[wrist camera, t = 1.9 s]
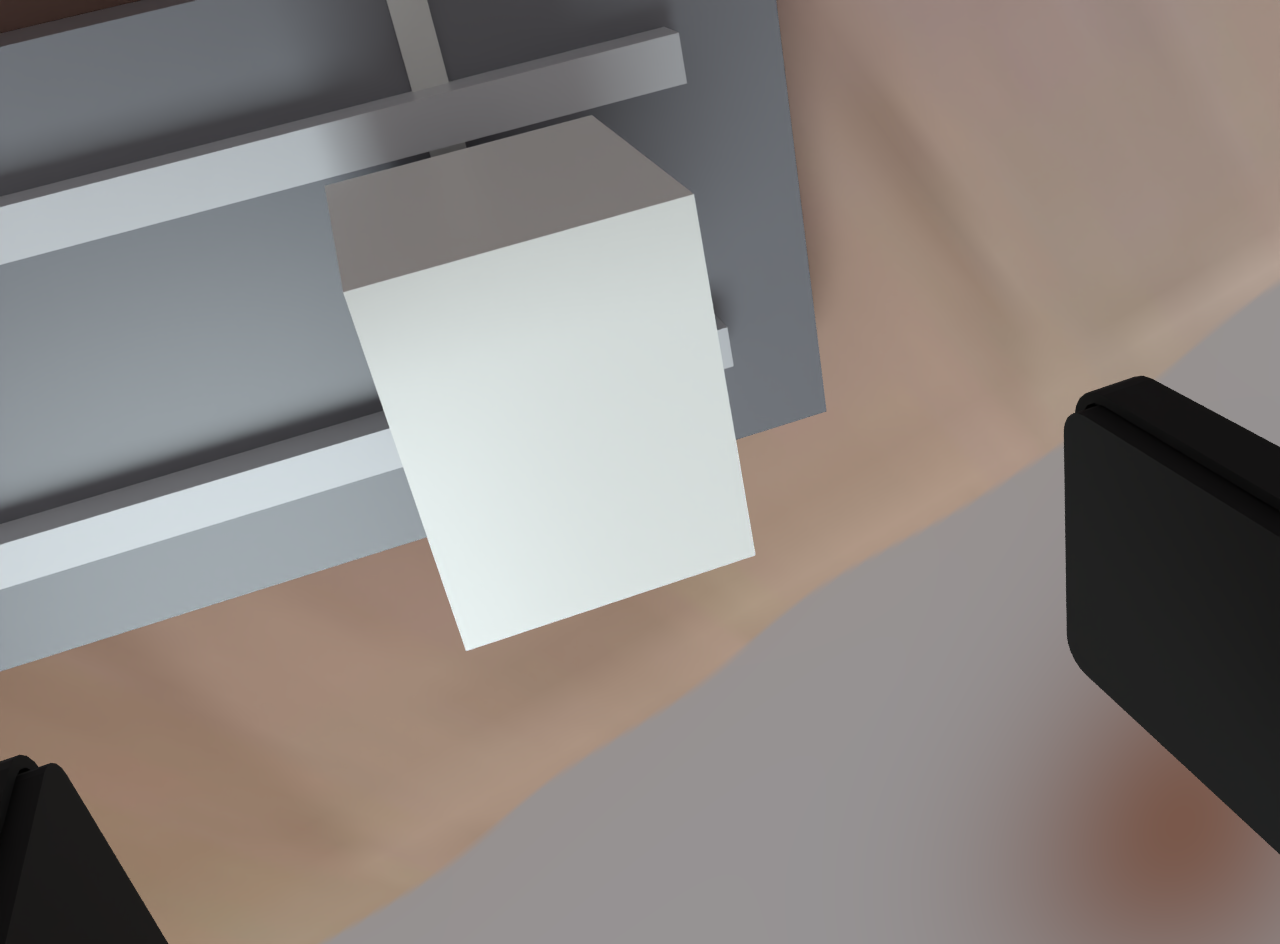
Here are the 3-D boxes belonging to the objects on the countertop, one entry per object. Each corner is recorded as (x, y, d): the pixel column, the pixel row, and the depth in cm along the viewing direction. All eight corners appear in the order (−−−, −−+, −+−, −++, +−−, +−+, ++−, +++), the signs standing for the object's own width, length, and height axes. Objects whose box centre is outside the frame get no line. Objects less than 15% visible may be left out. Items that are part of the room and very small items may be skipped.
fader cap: (559, 90, 19) (694, 193, 13) (620, 362, 21) (755, 555, 15) (318, 152, 18) (344, 292, 12) (410, 425, 21) (466, 651, 15)
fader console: (709, -134, 21) (778, -134, 18) (780, 365, 26) (842, 427, 23) (-1127, 298, 17) (-1414, 388, 14) (-613, 793, 22) (-746, 932, 19)
